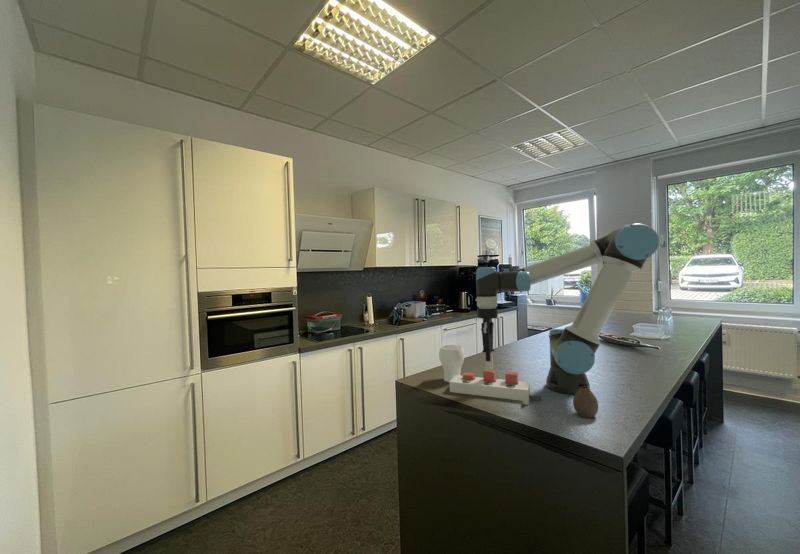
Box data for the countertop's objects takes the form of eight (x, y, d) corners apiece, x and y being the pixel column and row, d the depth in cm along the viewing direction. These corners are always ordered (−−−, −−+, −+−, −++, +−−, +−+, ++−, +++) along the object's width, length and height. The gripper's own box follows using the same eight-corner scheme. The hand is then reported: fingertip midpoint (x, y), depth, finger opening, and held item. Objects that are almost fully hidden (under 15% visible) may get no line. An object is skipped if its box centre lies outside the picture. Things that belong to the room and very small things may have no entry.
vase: (568, 411, 104) (567, 384, 104) (588, 409, 105) (587, 383, 105) (582, 420, 98) (581, 392, 98) (604, 419, 98) (602, 390, 98)
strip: (541, 397, 117) (541, 382, 117) (541, 406, 109) (540, 391, 109) (456, 387, 131) (455, 374, 131) (449, 394, 123) (449, 381, 123)
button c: (475, 382, 127) (474, 373, 127) (473, 384, 124) (472, 375, 124) (465, 381, 128) (464, 372, 128) (463, 383, 125) (462, 374, 125)
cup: (465, 386, 131) (463, 350, 131) (439, 386, 133) (437, 349, 133) (465, 378, 141) (464, 344, 141) (441, 378, 143) (439, 344, 143)
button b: (495, 379, 123) (495, 370, 123) (494, 382, 120) (494, 372, 120) (485, 378, 125) (484, 369, 125) (483, 381, 122) (483, 371, 122)
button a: (517, 381, 120) (517, 372, 120) (517, 384, 117) (516, 374, 117) (506, 380, 121) (506, 371, 121) (505, 383, 119) (505, 373, 119)
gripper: (480, 305, 130) (482, 363, 130) (473, 309, 118) (475, 372, 118) (499, 305, 127) (501, 365, 127) (494, 309, 115) (496, 374, 115)
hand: (488, 368), depth 123 cm, fingers closed
